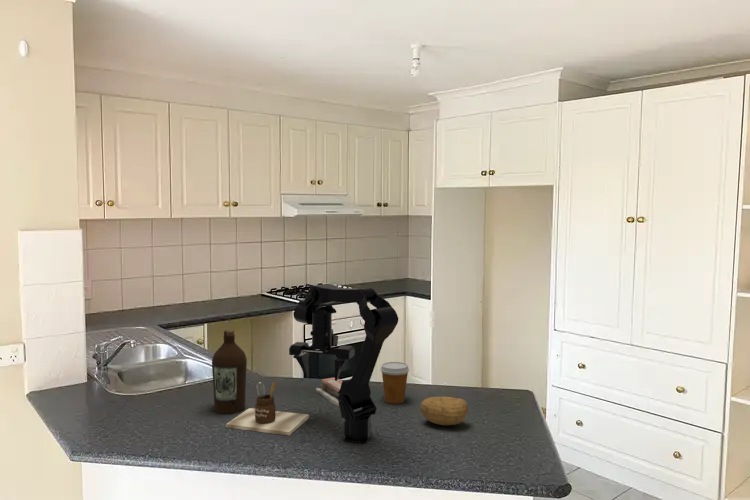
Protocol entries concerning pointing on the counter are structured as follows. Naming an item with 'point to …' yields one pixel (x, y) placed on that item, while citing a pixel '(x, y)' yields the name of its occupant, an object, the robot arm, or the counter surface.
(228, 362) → the olive oil
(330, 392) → the packaged product
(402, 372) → the disposable coffee cup
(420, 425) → the counter surface
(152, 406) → the counter surface
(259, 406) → the utensil holder
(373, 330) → the robot arm
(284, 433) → the birch board
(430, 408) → the potato
